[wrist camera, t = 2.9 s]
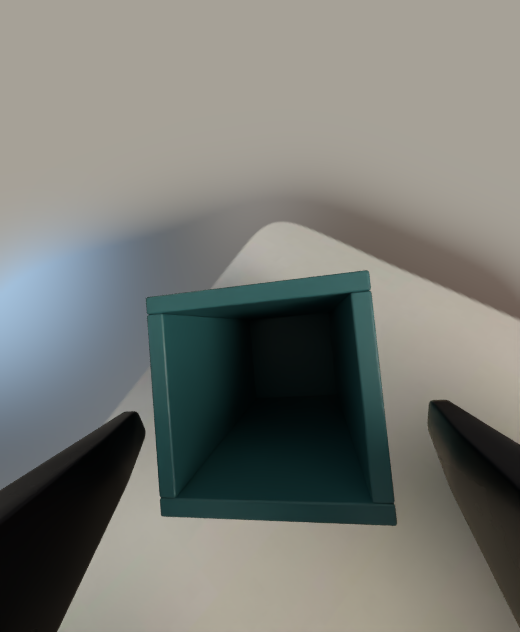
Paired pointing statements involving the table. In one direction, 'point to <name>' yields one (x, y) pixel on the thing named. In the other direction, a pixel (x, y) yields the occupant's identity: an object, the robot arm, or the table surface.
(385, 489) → the bin
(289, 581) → the table surface
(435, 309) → the table surface
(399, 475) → the table surface
